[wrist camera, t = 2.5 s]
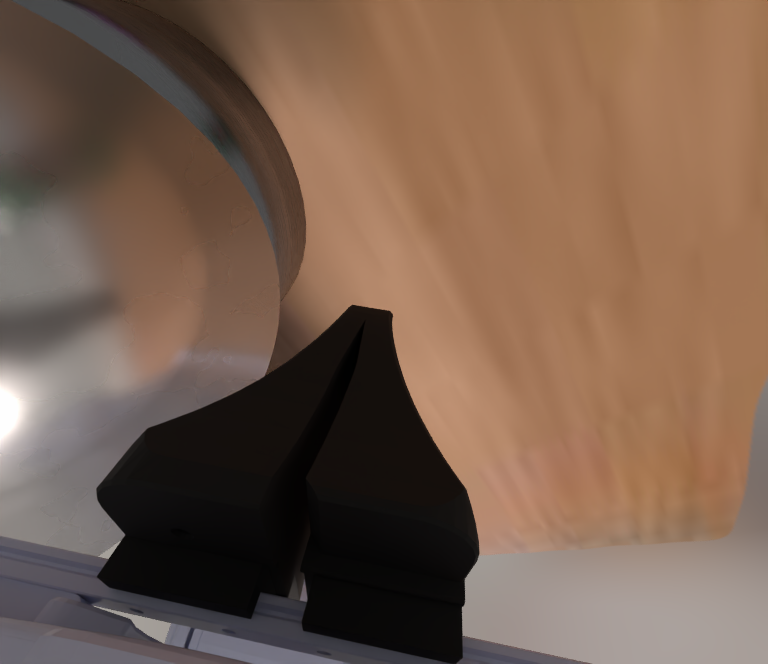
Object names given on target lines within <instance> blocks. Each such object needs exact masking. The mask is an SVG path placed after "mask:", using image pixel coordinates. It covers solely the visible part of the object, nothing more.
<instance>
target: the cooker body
mask: <svg viewBox="0 0 768 664" xmlns="http://www.w3.org/2000/svg"><path fill="white" fill-rule="evenodd" d="M12 1H13V2H15V3H17V4H19V5H21V6H23V7H25V8H27V9H28V10H30V11H32V12H34V13H36V14H38V15H40V16H41V17H43V18H45V19H47V20H49V21H51V22H53V23H55V24H56V25H58V26H60V27H62V28H64V29H66V30H68V31H69V32H71V33H73V34H75V35H76V36H78V37H79V38H81V39H82V40H84V41H85V42H87V43H88V44H90V45H91V46H93V47H94V48H96V49H97V50H99V51H101V52H102V53H104V54H105V55H107V56H108V57H110V58H111V59H113V60H114V61H116V62H117V63H119V64H120V65H122V66H123V67H125V68H126V69H128V70H129V71H131V72H132V73H134V74H135V75H136V76H138V77H139V78H140V79H141V80H143V81H144V82H145V83H146V84H147V85H149V86H150V87H151V88H152V89H154V90H155V91H156V92H157V93H159V94H160V95H161V96H162V97H164V98H165V99H166V100H167V101H168V102H170V103H171V104H172V105H173V106H175V107H176V108H177V109H178V110H179V111H180V112H181V113H182V114H183V115H184V116H185V117H186V118H187V119H188V120H189V121H190V122H191V123H192V124H193V125H194V126H195V127H196V128H197V129H198V130H199V131H200V132H201V133H202V134H203V135H204V136H205V137H206V138H207V139H208V140H209V141H210V142H211V143H212V144H213V145H214V146H215V147H216V149H217V150H218V151H219V152H220V154H221V155H222V156H223V158H224V159H225V160H226V161H227V163H228V164H229V165H230V166H231V168H232V169H233V170H234V171H235V173H236V174H237V175H238V177H239V179H240V180H241V182H242V183H243V185H244V187H245V188H246V190H247V191H248V193H249V195H250V196H251V198H252V200H253V201H254V203H255V205H256V207H257V209H258V211H259V214H260V216H261V218H262V220H263V222H264V225H265V227H266V229H267V232H268V235H269V238H270V241H271V245H272V248H273V251H274V254H275V259H276V265H277V270H278V276H279V287H280V302H281V301H282V299H283V298H284V296H285V295H286V294H287V292H288V291H289V289H290V288H291V287H292V285H293V283H294V281H295V279H296V277H297V275H298V273H299V270H300V267H301V263H302V260H303V256H304V249H305V243H306V220H305V211H304V203H303V198H302V194H301V190H300V186H299V181H298V178H297V176H296V173H295V170H294V167H293V164H292V162H291V159H290V156H289V154H288V152H287V150H286V148H285V146H284V144H283V142H282V140H281V138H280V136H279V134H278V132H277V130H276V129H275V127H274V125H273V124H272V122H271V120H270V119H269V117H268V116H267V114H266V112H265V111H264V109H263V108H262V106H261V105H260V104H259V102H258V101H257V100H256V98H255V97H254V96H253V95H252V93H251V92H250V91H249V89H248V88H247V87H246V85H245V84H244V83H243V82H242V81H241V80H240V79H239V78H238V77H237V76H236V74H235V73H234V72H233V71H232V70H231V69H230V68H229V67H228V66H227V65H226V64H225V63H224V62H223V61H222V60H221V59H220V58H219V57H217V56H216V55H215V54H214V53H213V52H212V51H211V50H209V49H208V48H207V47H206V46H205V45H204V44H203V43H201V42H200V41H199V40H197V39H196V38H194V37H193V36H192V35H190V34H189V33H187V32H186V31H184V30H183V29H182V28H180V27H179V26H177V25H176V24H174V23H172V22H170V21H168V20H166V19H164V18H162V17H161V16H159V15H157V14H155V13H153V12H151V11H149V10H146V9H143V8H141V7H138V6H135V5H133V4H130V3H127V2H125V1H120V0H12Z"/></svg>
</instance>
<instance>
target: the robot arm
mask: <svg viewBox="0 0 768 664" xmlns="http://www.w3.org/2000/svg"><path fill="white" fill-rule="evenodd" d="M392 318H393V314H392V313H391V312H390V311H387V310H381V309H374V308H368V307H362V306H356V305H352V306H350V307H349V308H348V309H347V310H346V311H345V312H344V313H343V314H342V315H341V316H340V317H339V318H338V319H337V320H336V321H335V322H334V323H333V324H332V325H331V326H330V327H329V328H328V329H327V330H326V331H325V332H323V333H322V334H321V335H320V336H319V337H318V338H317V339H316V340H314V341H313V342H312V343H311V344H310V345H308V346H307V347H306V348H305V349H303V350H302V351H301V352H299V353H298V354H297V355H296V356H294V357H293V358H292V359H290V360H289V361H287V362H286V363H285V364H283V365H282V366H280V367H279V368H277V369H276V370H274V371H272V372H271V373H269V374H268V375H266V376H264V377H263V378H261V379H259V380H257V381H256V382H254V383H252V384H250V385H248V386H246V387H245V388H243V389H241V390H239V391H237V392H235V393H233V394H231V395H229V396H227V397H225V398H223V399H221V400H218V401H216V402H214V403H211V404H209V405H207V406H205V407H202V408H200V409H197V410H195V411H193V412H190V413H187V414H185V415H182V416H179V417H177V418H174V419H171V420H169V421H166V422H163V423H161V424H158V425H155V426H152V427H149V428H147V429H146V430H145V431H144V432H143V433H142V434H141V436H140V437H139V438H138V439H137V440H136V441H135V442H134V443H133V444H132V445H131V446H130V448H129V449H128V450H127V451H126V453H125V454H124V455H123V456H122V458H121V459H120V460H119V461H118V462H117V464H116V465H115V466H114V467H113V469H112V470H111V471H110V472H109V473H108V475H107V476H106V477H105V478H104V480H103V481H102V482H101V483H100V484H99V486H98V487H97V488H96V492H97V500H98V502H99V504H100V505H101V507H102V508H103V510H104V511H105V512H106V513H107V514H108V515H109V517H110V518H111V519H112V520H113V521H114V522H115V523H116V525H117V526H118V527H119V528H120V529H121V530H122V532H123V533H124V534H125V536H124V538H123V539H122V541H121V542H120V544H119V545H118V546H117V548H116V549H115V551H114V552H113V554H112V555H111V557H110V558H109V559H105V558H101V557H96V556H92V555H87V554H82V553H78V552H73V551H69V550H64V549H59V548H55V547H50V546H45V545H41V544H36V543H32V542H27V541H22V540H18V539H13V538H8V537H4V536H0V664H590V663H586V662H581V661H576V660H572V659H566V658H563V657H558V656H553V655H549V654H544V653H540V652H535V651H530V650H525V649H520V648H516V647H511V646H507V645H502V644H498V643H493V642H489V641H484V640H479V639H475V638H470V637H465V636H462V607H463V606H464V604H465V578H466V576H467V575H468V574H469V572H470V571H471V569H472V568H473V566H474V565H475V563H476V562H477V560H478V556H479V540H478V534H477V528H476V523H475V519H474V515H473V511H472V507H471V503H470V500H469V497H468V493H467V490H466V488H465V487H464V485H463V484H462V483H461V481H460V480H459V479H458V477H457V476H456V474H455V473H454V472H453V470H452V469H451V467H450V466H449V464H448V463H447V461H446V460H445V458H444V457H443V455H442V454H441V452H440V450H439V449H438V447H437V446H436V444H435V442H434V441H433V439H432V437H431V435H430V434H429V432H428V430H427V428H426V426H425V424H424V423H423V421H422V419H421V417H420V415H419V413H418V411H417V409H416V407H415V405H414V402H413V400H412V398H411V396H410V393H409V391H408V388H407V386H406V383H405V380H404V377H403V374H402V371H401V368H400V365H399V361H398V358H397V353H396V349H395V344H394V339H393V331H392ZM93 606H98V607H102V608H107V609H111V610H116V611H121V612H124V613H129V614H133V615H138V616H142V617H147V618H151V619H156V620H160V621H165V622H169V623H171V626H170V628H169V631H168V634H167V637H166V640H165V644H163V643H161V642H159V641H158V640H155V639H154V638H152V637H150V636H148V635H146V634H145V633H143V632H142V631H141V630H139V629H138V628H136V627H135V625H134V624H133V622H132V621H131V620H130V619H128V618H126V617H123V616H120V615H116V614H114V613H111V612H108V611H105V610H102V609H99V608H96V607H93Z"/></svg>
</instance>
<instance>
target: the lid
mask: <svg viewBox="0 0 768 664" xmlns="http://www.w3.org/2000/svg"><path fill="white" fill-rule="evenodd" d="M279 313H280V287H279V276H278V270H277V265H276V259H275V254H274V251H273V248H272V245H271V241H270V238H269V235H268V232H267V229H266V227H265V225H264V222H263V220H262V218H261V216H260V214H259V211H258V209H257V207H256V205H255V203H254V201H253V200H252V198H251V196H250V195H249V193H248V191H247V190H246V188H245V187H244V185H243V183H242V182H241V180H240V179H239V177H238V175H237V174H236V173H235V171H234V170H233V169H232V168H231V166H230V165H229V164H228V163H227V161H226V160H225V159H224V158H223V156H222V155H221V154H220V152H219V151H218V150H217V149H216V147H215V146H214V145H213V144H212V143H211V142H210V141H209V140H208V139H207V138H206V137H205V136H204V135H203V134H202V133H201V132H200V131H199V130H198V129H197V128H196V127H195V126H194V125H193V124H192V123H191V122H190V121H189V120H188V119H187V118H186V117H185V116H184V115H183V114H182V113H181V112H180V111H179V110H178V109H177V108H176V107H175V106H173V105H172V104H171V103H170V102H168V101H167V100H166V99H165V98H164V97H162V96H161V95H160V94H159V93H157V92H156V91H155V90H154V89H152V88H151V87H150V86H149V85H147V84H146V83H145V82H144V81H143V80H141V79H140V78H139V77H138V76H136V75H135V74H134V73H132V72H131V71H129V70H128V69H126V68H125V67H123V66H122V65H120V64H119V63H117V62H116V61H114V60H113V59H111V58H110V57H108V56H107V55H105V54H104V53H102V52H101V51H99V50H97V49H96V48H94V47H93V46H91V45H90V44H88V43H87V42H85V41H84V40H82V39H81V38H79V37H78V36H76V35H75V34H73V33H71V32H69V31H68V30H66V29H64V28H62V27H60V26H58V25H56V24H55V23H53V22H51V21H49V20H47V19H45V18H43V17H41V16H40V15H38V14H36V13H34V12H32V11H30V10H28V9H27V8H25V7H23V6H21V5H19V4H17V3H15V2H13V1H12V0H0V536H4V537H8V538H13V539H18V540H22V541H27V542H32V543H36V544H41V545H45V546H50V547H55V548H59V549H64V550H69V551H73V552H78V553H82V554H87V555H92V556H96V557H98V556H99V555H100V554H102V553H103V552H105V551H106V550H108V549H109V548H111V547H112V546H113V545H115V544H116V543H118V542H119V541H121V540H122V539H123V538H124V536H125V534H124V533H123V532H122V530H121V529H120V528H119V527H118V526H117V525H116V523H115V522H114V521H113V520H112V519H111V518H110V517H109V515H108V514H107V513H106V512H105V511H104V510H103V508H102V507H101V505H100V504H99V502H98V500H97V492H96V488H97V487H98V486H99V484H100V483H101V482H102V481H103V480H104V478H105V477H106V476H107V475H108V473H109V472H110V471H111V470H112V469H113V467H114V466H115V465H116V464H117V462H118V461H119V460H120V459H121V458H122V456H123V455H124V454H125V453H126V451H127V450H128V449H129V448H130V446H131V445H132V444H133V443H134V442H135V441H136V440H137V439H138V438H139V437H140V436H141V434H142V433H143V432H144V431H145V430H146V429H147V428H149V427H152V426H155V425H158V424H161V423H163V422H166V421H169V420H171V419H174V418H177V417H179V416H182V415H185V414H187V413H190V412H193V411H195V410H197V409H200V408H202V407H205V406H207V405H209V404H211V403H214V402H216V401H218V400H221V399H223V398H225V397H227V396H229V395H231V394H233V393H235V392H237V391H239V390H241V389H243V388H245V387H246V386H248V385H250V384H252V383H254V382H256V381H257V380H259V379H261V378H263V377H264V376H265V374H266V371H267V369H268V366H269V363H270V359H271V356H272V353H273V350H274V346H275V341H276V336H277V331H278V325H279Z"/></svg>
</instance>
